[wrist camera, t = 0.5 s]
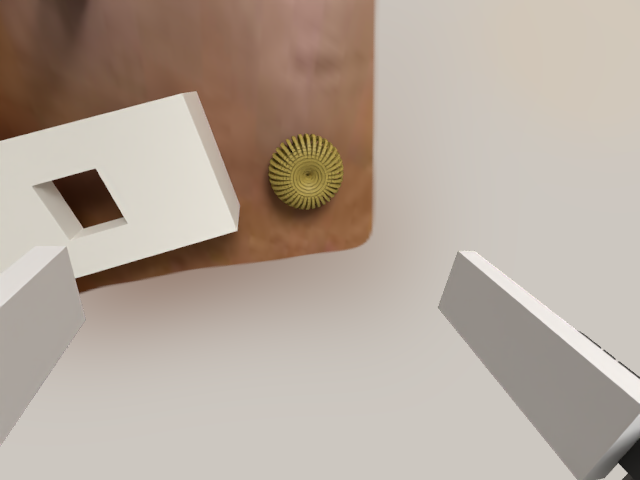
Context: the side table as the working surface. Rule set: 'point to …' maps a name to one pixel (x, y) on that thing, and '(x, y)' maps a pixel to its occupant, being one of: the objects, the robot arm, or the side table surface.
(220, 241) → the side table surface
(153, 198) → the white bench
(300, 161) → the sculpture
